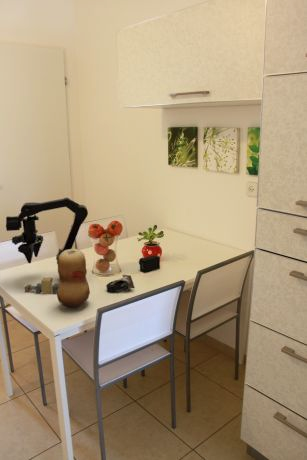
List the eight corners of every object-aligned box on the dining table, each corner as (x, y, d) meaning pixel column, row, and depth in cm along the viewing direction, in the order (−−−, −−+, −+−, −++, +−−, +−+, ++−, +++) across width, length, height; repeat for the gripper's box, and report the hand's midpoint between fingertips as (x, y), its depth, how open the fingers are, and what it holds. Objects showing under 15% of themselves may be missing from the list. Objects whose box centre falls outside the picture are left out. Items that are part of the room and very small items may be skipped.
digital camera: (154, 266, 214) (153, 254, 212) (160, 268, 210) (159, 256, 208) (138, 270, 208) (138, 258, 206) (144, 273, 204) (144, 260, 202)
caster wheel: (105, 294, 185) (121, 286, 191) (119, 297, 176) (135, 288, 182) (101, 282, 183) (117, 273, 189) (115, 284, 175) (131, 275, 181)
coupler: (45, 290, 185) (43, 277, 183) (53, 290, 184) (52, 277, 183) (42, 293, 181) (41, 280, 179) (50, 293, 181) (49, 280, 179)
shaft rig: (23, 293, 181) (22, 286, 180) (26, 289, 186) (26, 282, 185) (69, 294, 180) (69, 286, 179) (72, 290, 184) (71, 282, 183)
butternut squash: (66, 315, 159) (61, 258, 153) (53, 304, 170) (48, 250, 163) (96, 306, 167) (92, 251, 161) (82, 296, 178) (78, 243, 171)
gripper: (20, 224, 196) (23, 253, 200) (5, 234, 178) (9, 266, 182) (42, 224, 195) (45, 253, 200) (29, 234, 177) (32, 266, 182)
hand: (32, 259), depth 191 cm, fingers open, 9 cm apart
